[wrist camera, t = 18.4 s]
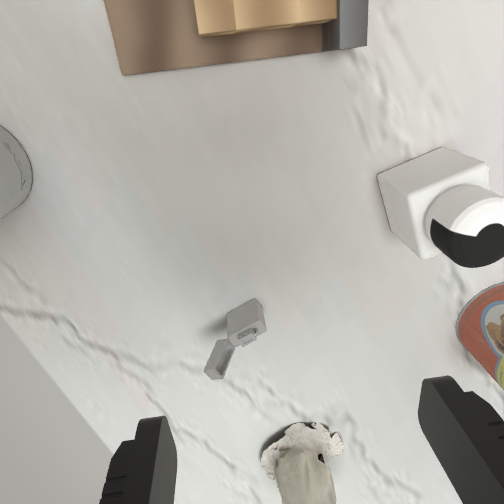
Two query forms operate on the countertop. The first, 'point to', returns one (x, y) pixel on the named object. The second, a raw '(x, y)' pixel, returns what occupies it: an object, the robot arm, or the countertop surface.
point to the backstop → (218, 47)
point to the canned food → (485, 330)
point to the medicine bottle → (445, 208)
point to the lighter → (236, 336)
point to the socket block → (260, 15)
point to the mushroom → (303, 464)
